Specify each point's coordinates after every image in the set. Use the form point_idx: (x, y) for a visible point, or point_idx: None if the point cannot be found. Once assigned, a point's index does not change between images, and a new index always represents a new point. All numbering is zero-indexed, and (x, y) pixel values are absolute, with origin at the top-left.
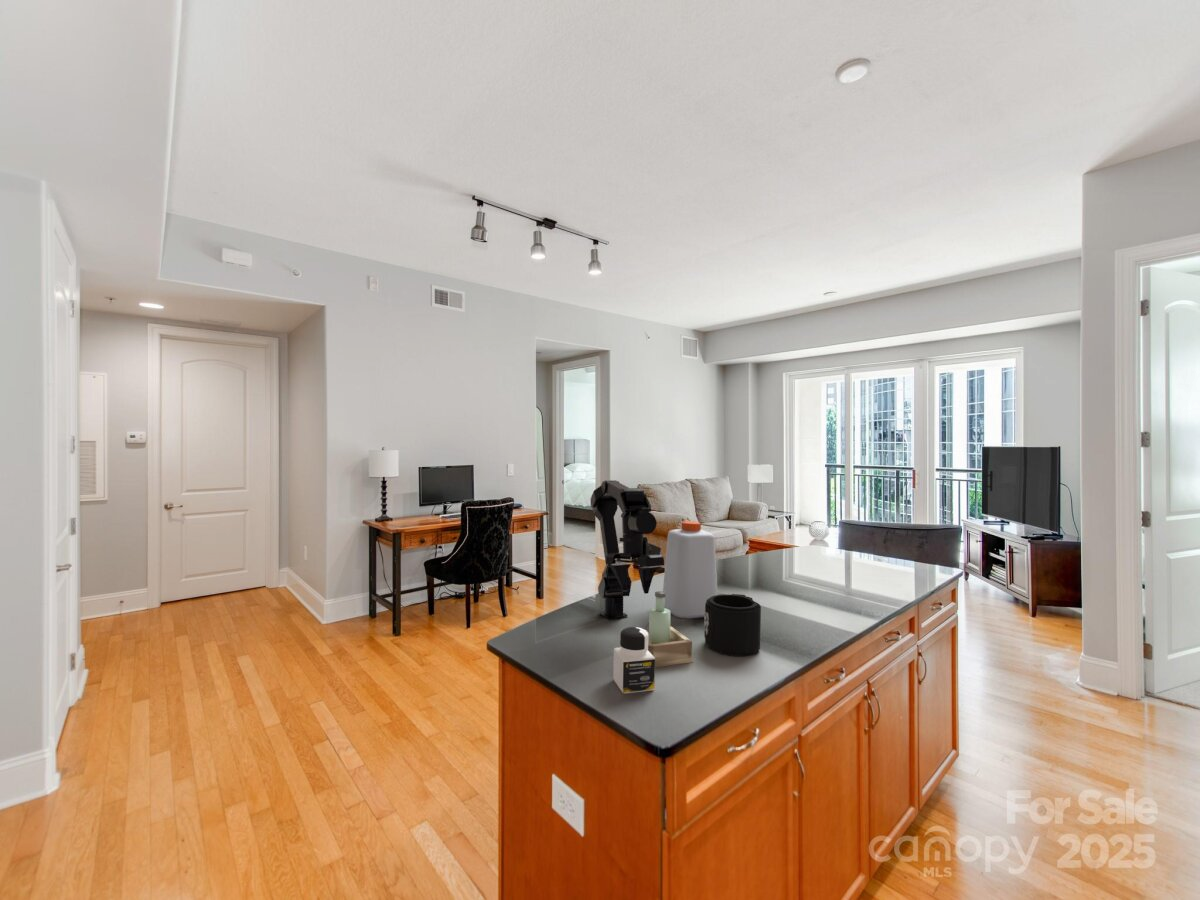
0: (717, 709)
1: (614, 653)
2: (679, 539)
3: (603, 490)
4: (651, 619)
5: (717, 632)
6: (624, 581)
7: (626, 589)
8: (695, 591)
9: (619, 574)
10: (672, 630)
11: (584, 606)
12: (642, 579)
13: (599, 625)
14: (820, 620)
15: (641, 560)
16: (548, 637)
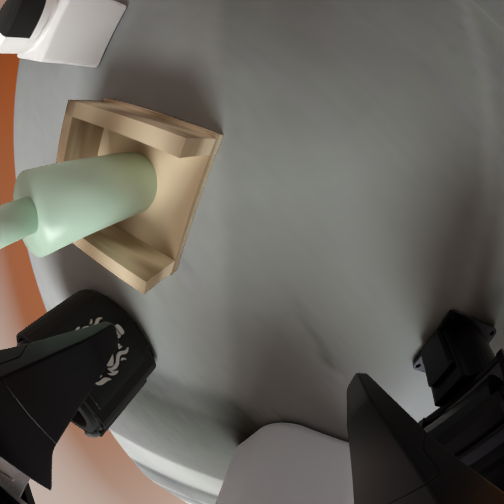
0: (17, 116)
1: None
2: None
3: None
4: (50, 164)
5: (66, 310)
6: (361, 437)
7: (347, 392)
8: (237, 481)
9: (400, 476)
10: (107, 257)
11: None
12: (15, 350)
13: (453, 245)
14: (148, 453)
15: None
16: (476, 35)
